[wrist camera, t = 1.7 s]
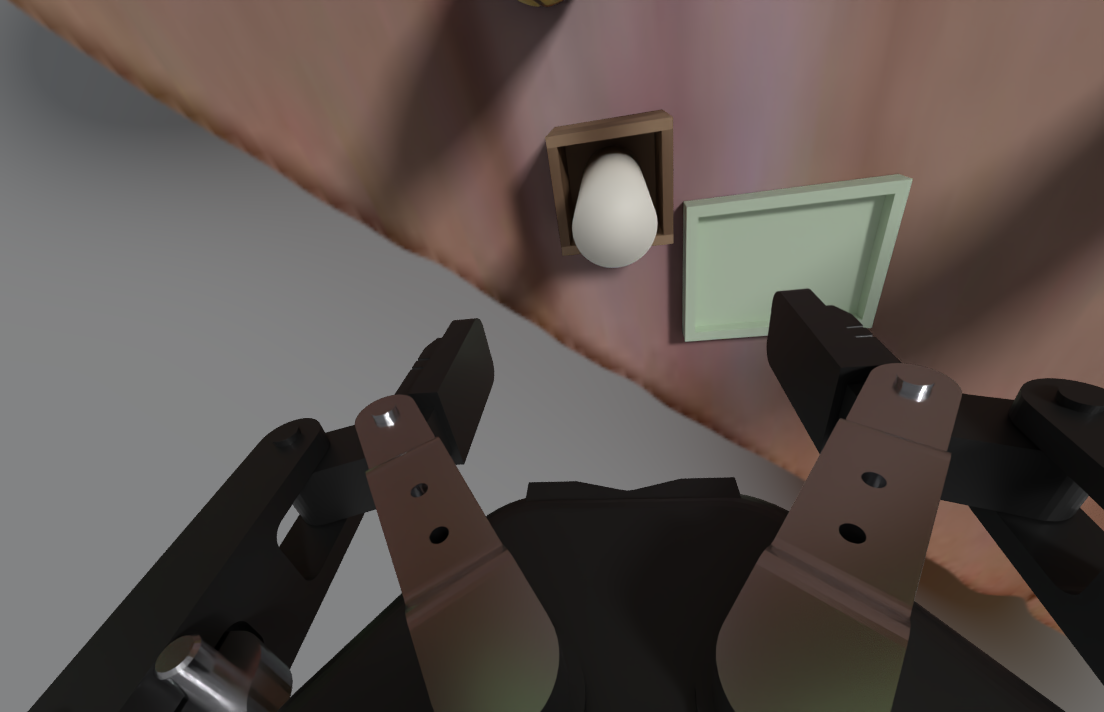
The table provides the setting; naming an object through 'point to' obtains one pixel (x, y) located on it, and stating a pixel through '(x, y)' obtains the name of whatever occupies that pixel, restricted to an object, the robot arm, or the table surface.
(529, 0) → the sauce bottle
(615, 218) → the dowel
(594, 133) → the pen cup
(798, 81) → the table surface
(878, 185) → the tray
